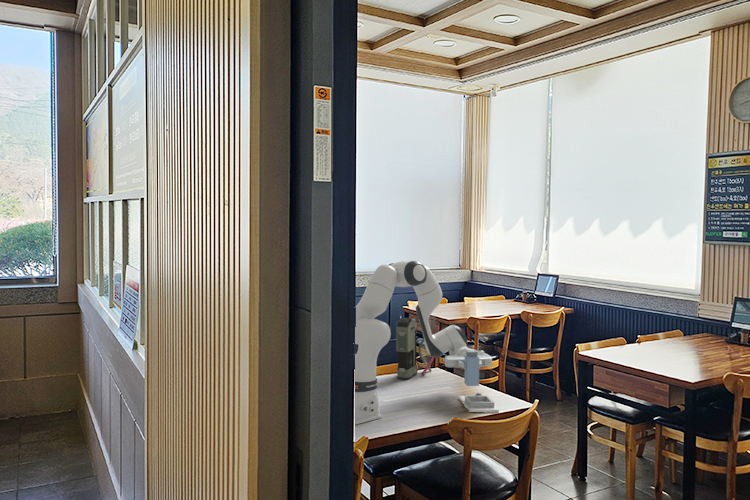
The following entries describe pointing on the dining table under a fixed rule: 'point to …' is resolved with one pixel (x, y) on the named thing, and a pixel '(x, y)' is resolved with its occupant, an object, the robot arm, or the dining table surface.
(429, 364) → the dna model
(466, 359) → the blue-gray rectangular block
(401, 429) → the dining table surface
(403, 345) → the device
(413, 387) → the dining table surface
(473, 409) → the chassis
